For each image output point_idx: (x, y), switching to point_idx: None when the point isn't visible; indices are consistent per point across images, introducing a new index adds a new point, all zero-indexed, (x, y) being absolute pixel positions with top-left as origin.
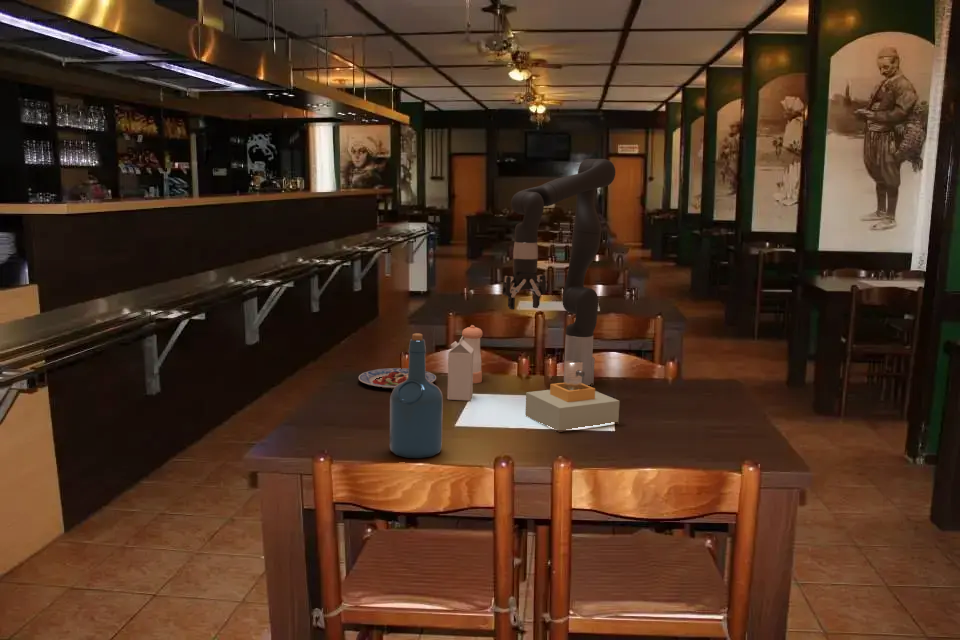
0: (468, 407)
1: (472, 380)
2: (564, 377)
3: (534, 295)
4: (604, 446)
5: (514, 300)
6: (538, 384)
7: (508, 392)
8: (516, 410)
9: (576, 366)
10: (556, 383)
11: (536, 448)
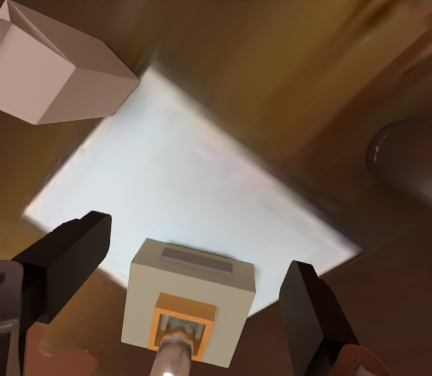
0: (88, 148)
1: (119, 86)
2: (161, 343)
3: (324, 357)
4: (150, 360)
5: (61, 303)
6: (335, 93)
7: (223, 108)
8: (152, 210)
9: None
10: (167, 310)
11: (77, 325)
